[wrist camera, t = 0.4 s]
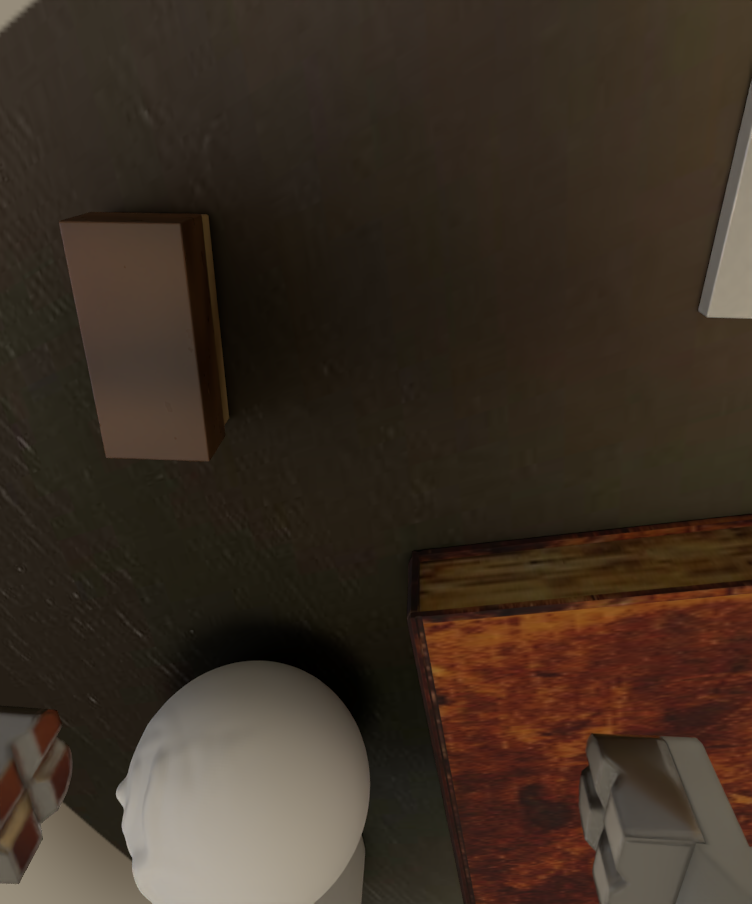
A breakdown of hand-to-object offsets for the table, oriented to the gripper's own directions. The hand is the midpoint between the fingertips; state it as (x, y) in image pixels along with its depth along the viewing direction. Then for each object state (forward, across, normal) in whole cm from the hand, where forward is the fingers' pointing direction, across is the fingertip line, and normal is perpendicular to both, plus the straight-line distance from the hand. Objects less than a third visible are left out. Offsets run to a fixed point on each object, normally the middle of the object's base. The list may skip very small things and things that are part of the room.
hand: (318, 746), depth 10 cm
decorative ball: (+21, +6, +21) cm, 31 cm away
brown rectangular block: (+21, +9, -1) cm, 23 cm away
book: (+21, -16, +24) cm, 35 cm away
